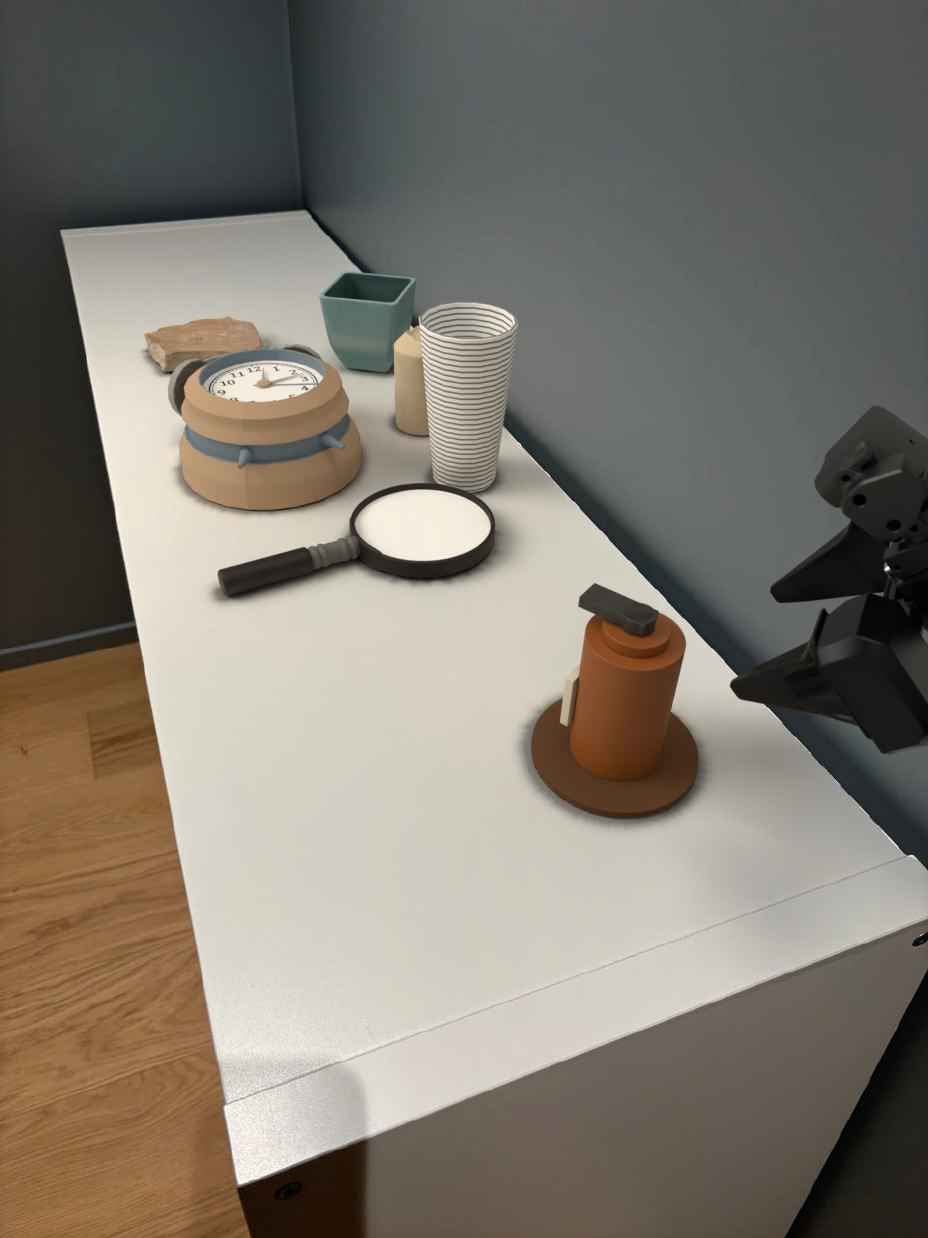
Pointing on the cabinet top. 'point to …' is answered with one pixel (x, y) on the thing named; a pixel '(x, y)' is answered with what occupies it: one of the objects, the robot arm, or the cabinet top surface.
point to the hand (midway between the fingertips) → (755, 639)
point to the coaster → (610, 795)
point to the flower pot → (367, 317)
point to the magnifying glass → (389, 538)
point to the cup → (466, 388)
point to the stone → (201, 340)
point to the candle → (410, 384)
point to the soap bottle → (622, 686)
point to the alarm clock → (264, 428)
